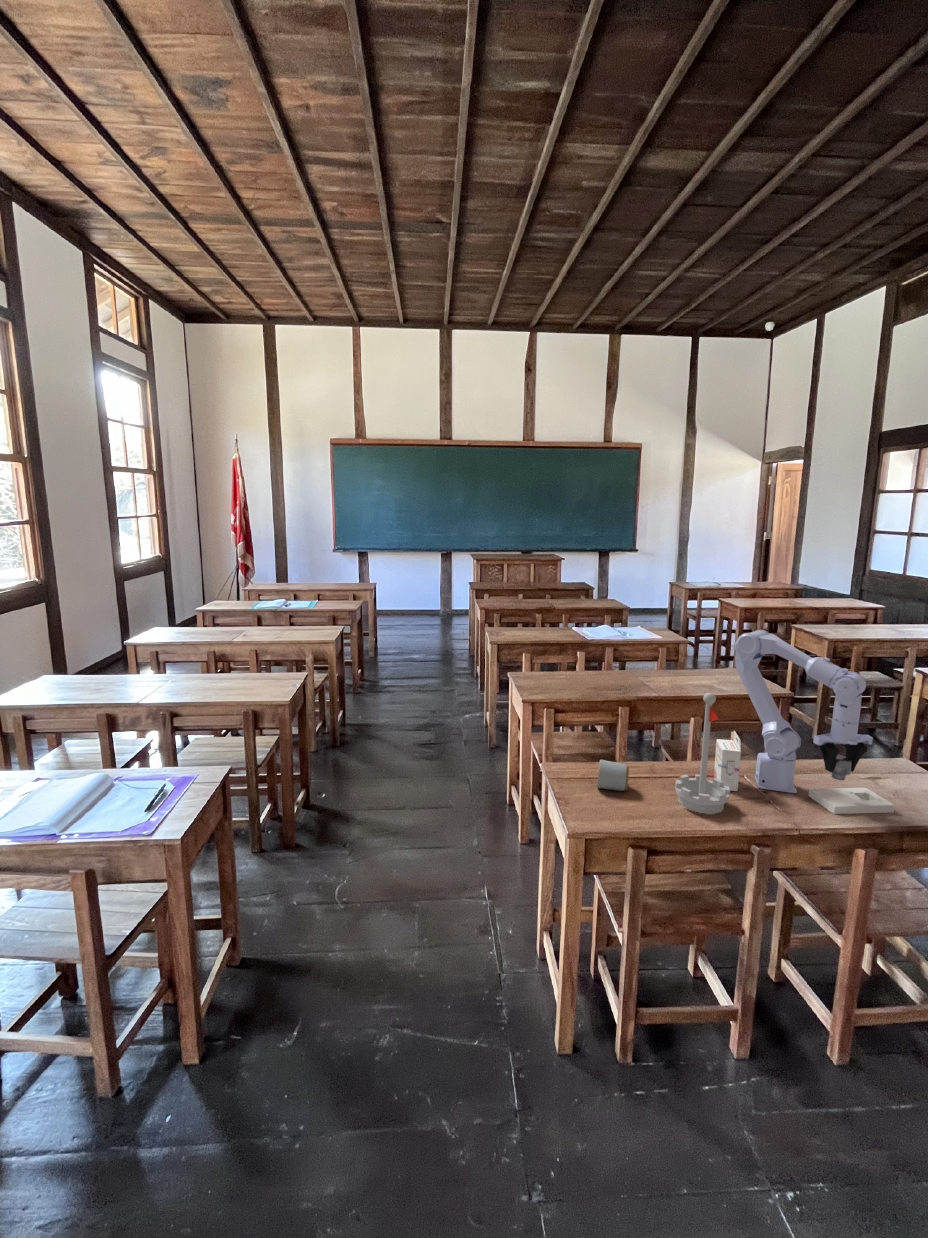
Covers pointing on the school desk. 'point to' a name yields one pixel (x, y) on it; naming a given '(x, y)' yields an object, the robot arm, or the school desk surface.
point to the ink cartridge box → (728, 762)
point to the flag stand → (703, 776)
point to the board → (851, 800)
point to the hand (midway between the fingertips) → (839, 770)
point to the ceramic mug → (613, 775)
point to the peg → (842, 767)
